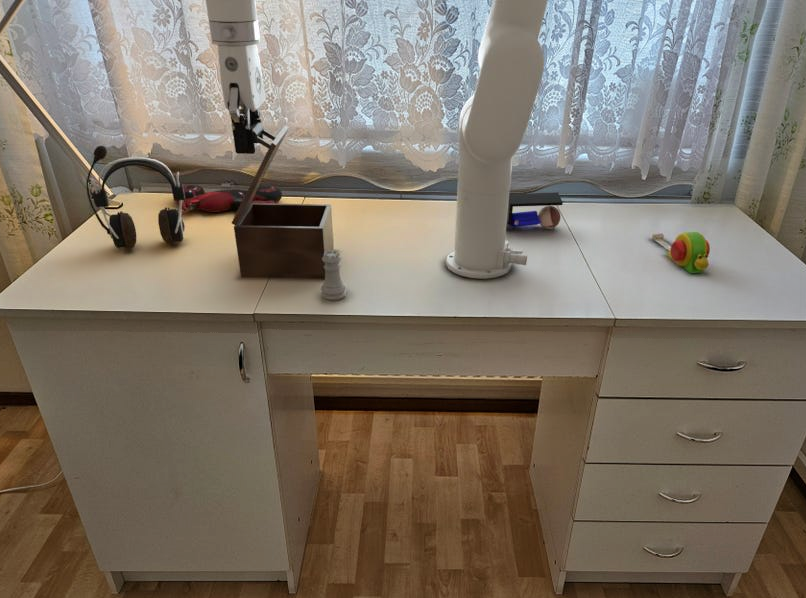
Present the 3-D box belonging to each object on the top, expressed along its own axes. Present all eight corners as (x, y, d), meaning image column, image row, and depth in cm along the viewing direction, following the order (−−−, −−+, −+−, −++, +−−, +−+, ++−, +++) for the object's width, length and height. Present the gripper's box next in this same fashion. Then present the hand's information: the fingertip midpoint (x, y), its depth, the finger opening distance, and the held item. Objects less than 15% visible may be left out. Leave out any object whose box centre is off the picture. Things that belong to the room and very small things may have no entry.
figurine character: (494, 239, 143) (563, 232, 142) (492, 205, 139) (563, 198, 138) (490, 227, 149) (557, 221, 148) (489, 195, 144) (557, 188, 144)
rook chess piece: (347, 300, 114) (345, 258, 110) (321, 302, 113) (318, 259, 109) (346, 289, 118) (343, 247, 113) (320, 290, 117) (317, 248, 113)
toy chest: (333, 251, 132) (331, 204, 126) (326, 279, 121) (322, 228, 116) (255, 250, 131) (249, 202, 126) (241, 277, 121) (233, 226, 115)
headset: (100, 258, 126) (72, 153, 116) (103, 243, 132) (76, 142, 122) (194, 248, 131) (175, 146, 121) (192, 234, 137) (174, 136, 127)
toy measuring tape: (685, 278, 125) (693, 246, 121) (642, 239, 141) (648, 210, 137) (716, 277, 126) (725, 244, 122) (670, 238, 142) (677, 209, 138)
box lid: (289, 127, 119) (261, 110, 117) (276, 145, 108) (245, 127, 106) (251, 201, 126) (224, 186, 124) (235, 225, 115) (206, 209, 114)
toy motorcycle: (180, 201, 158) (156, 214, 143) (178, 179, 156) (153, 190, 141) (285, 206, 159) (272, 219, 144) (284, 184, 157) (271, 195, 142)
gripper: (246, 40, 97) (261, 162, 107) (269, 27, 112) (280, 135, 122) (195, 39, 97) (215, 161, 107) (225, 26, 112) (240, 135, 122)
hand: (250, 146), depth 114 cm, fingers closed on box lid, 6 cm apart
